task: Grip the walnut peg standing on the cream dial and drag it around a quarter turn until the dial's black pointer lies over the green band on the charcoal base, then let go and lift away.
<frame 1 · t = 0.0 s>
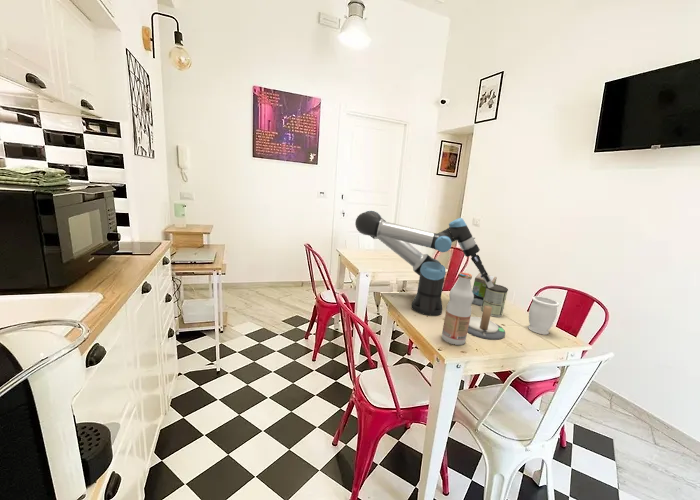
hand: (488, 283, 157), 15 cm above the table, tool tilted 35°, fingers open, 13 cm apart
tea box: (480, 302, 174), on the table
fruit juice: (453, 340, 125), on the table
dial base: (480, 328, 138), on the table
jar: (537, 330, 143), on the table
coffee can: (491, 313, 159), on the table
tuner dial: (483, 315, 136), point 7 cm above the table, hinge at 0.0°
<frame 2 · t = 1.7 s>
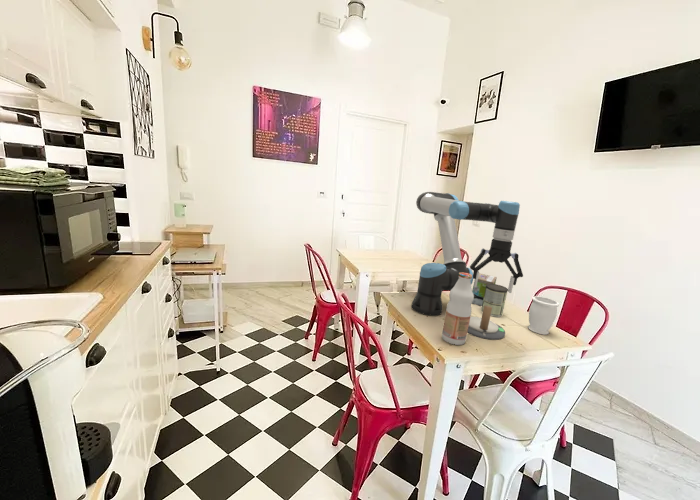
hand: (492, 289, 129), 21 cm above the table, tool pointing down, fingers open, 13 cm apart
nothing on the table moved.
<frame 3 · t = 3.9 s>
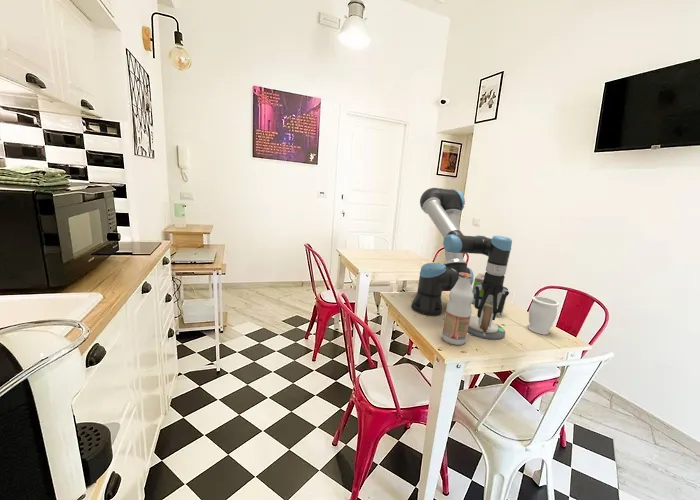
hand: (484, 325, 132), 4 cm above the table, tool pointing down, fingers closed on tuner dial, 3 cm apart
tuner dial: (483, 315, 136), point 7 cm above the table, hinge at 0.0°, touching gripper
everything else where it was.
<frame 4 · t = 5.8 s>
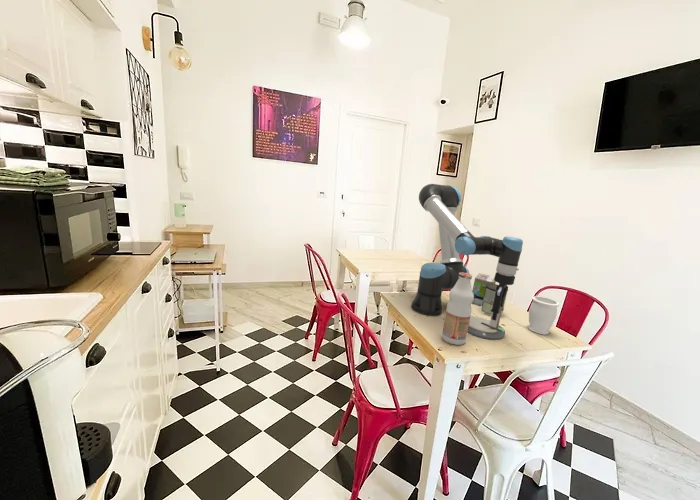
hand: (493, 324, 134), 4 cm above the table, tool pointing down, fingers open, 4 cm apart
tuner dial: (485, 315, 136), point 7 cm above the table, hinge at 56.4°, touching gripper
everything else where it was.
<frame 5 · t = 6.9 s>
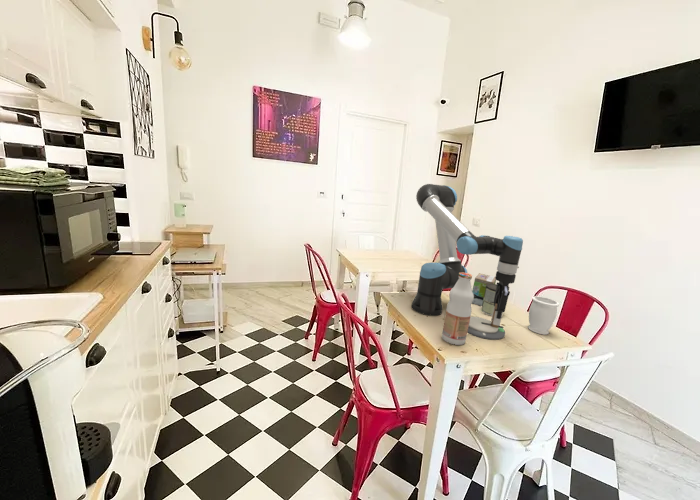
hand: (495, 322, 136), 4 cm above the table, tool pointing down, fingers closed on tuner dial, 3 cm apart
tuner dial: (485, 314, 137), point 7 cm above the table, hinge at 87.7°, touching gripper
everything else where it was.
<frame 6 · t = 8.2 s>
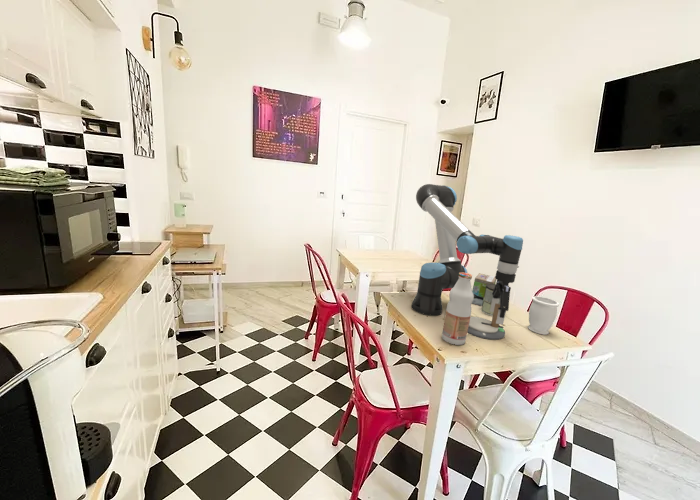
hand: (496, 317, 136), 6 cm above the table, tool pointing down, fingers open, 13 cm apart
tuner dial: (485, 314, 137), point 7 cm above the table, hinge at 88.2°
everything else where it was.
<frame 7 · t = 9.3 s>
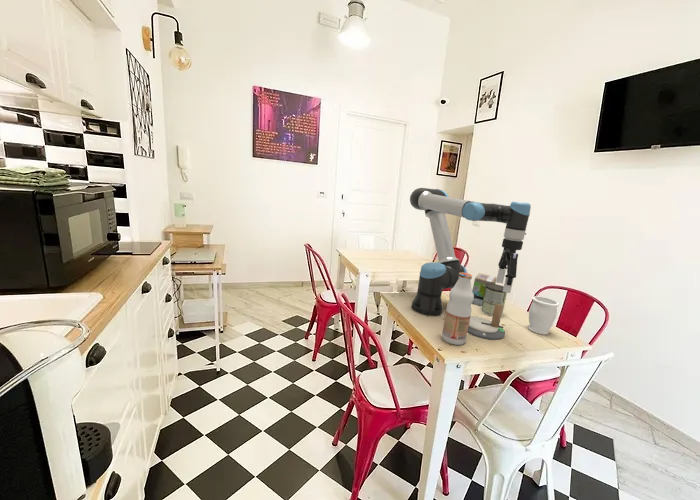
hand: (502, 287, 133), 21 cm above the table, tool pointing down, fingers open, 13 cm apart
nothing on the table moved.
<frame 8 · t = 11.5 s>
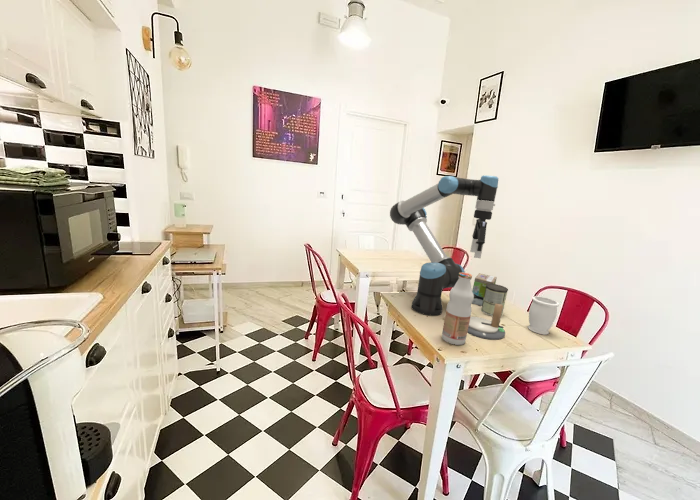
hand: (475, 255, 146), 31 cm above the table, tool pointing down, fingers open, 13 cm apart
nothing on the table moved.
at the end: tuner dial at +88° (first picture: +0°); the gripper is holding nothing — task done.
